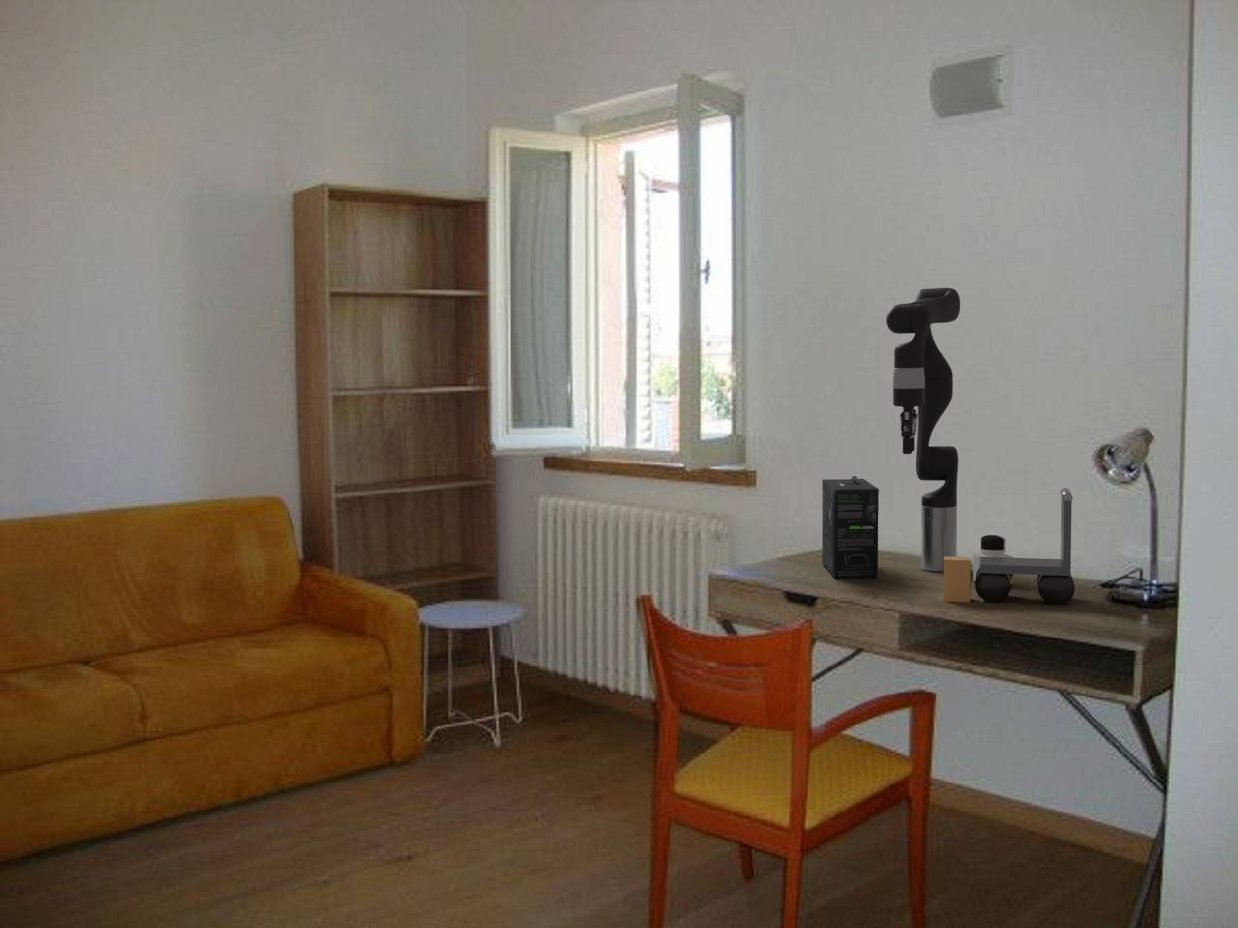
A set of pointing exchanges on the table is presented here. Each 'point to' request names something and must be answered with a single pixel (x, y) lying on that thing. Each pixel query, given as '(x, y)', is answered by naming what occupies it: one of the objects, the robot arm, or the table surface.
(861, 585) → the table surface
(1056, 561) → the trolley
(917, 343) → the robot arm
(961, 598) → the light orange block
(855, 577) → the headset box
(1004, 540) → the medicine bottle
